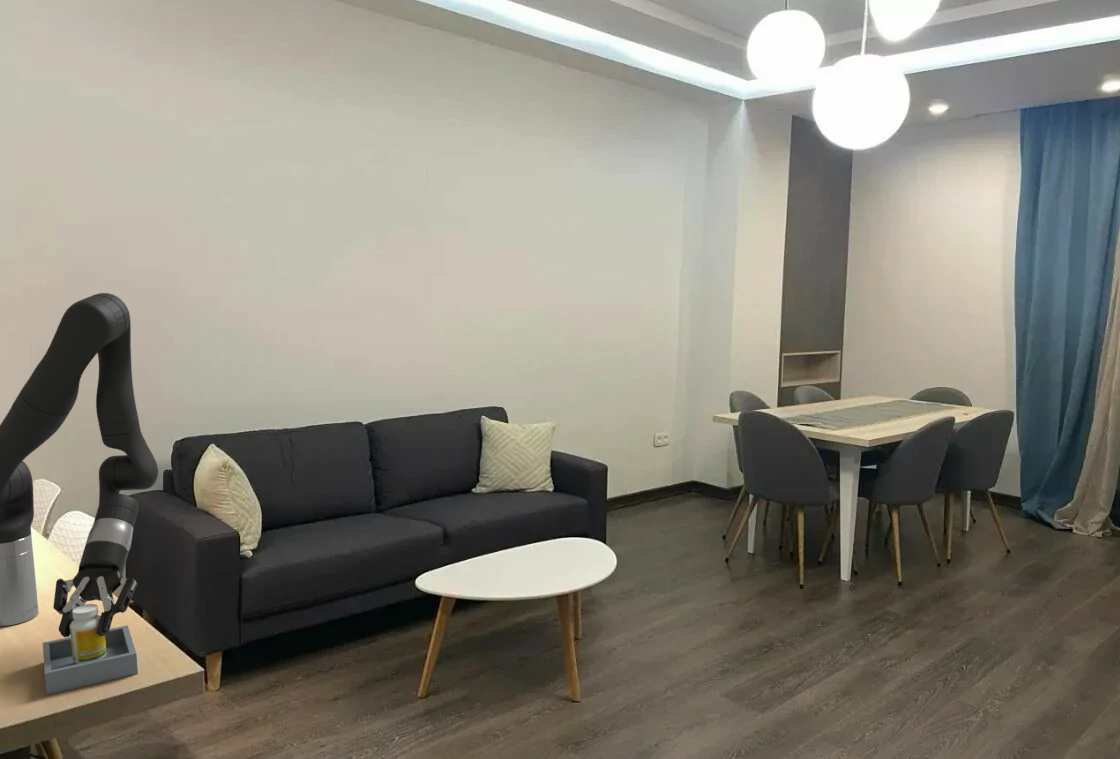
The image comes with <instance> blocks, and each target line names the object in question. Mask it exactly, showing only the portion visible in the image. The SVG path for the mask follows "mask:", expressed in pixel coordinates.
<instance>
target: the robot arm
mask: <svg viewBox="0 0 1120 759" xmlns="http://www.w3.org/2000/svg"><path fill="white" fill-rule="evenodd" d="M131 333H132V332H131V315H130V311H129V308H128V306H127V305H126V303H125V302H124V301H123V300H122V299H121V298H120V297H118V296H117V295H115V294H112V293H109V292H99V293H97V294H93V295H90V296H88V297H86V298H83V299H79V300H78V301H75V302H74V303H72V304H71V305H70V306H69V307H68V308H67V309H65V312H64V313H63V315H62V318H61V319H60V322H59V324H58V326H57V327H56V331H55V333H54V336H53V337H52V339H51V342H50V344H49V347H48V348H47V350H46V352H45V354H44V355H43V357H42V359H41V360H40V361H39V363H38V364H37V365H36V367H35V368H34V370H33V371H32V373H31V375H30V376H29V378H28V379H27V381H26V382H25V383H24V385H23V386H22V388H21V389H20V391H19V393H18V395H17V397H16V398H15V399H14V401H13V403H12V405H11V407H10V409H9V410H8V412H7V413H6V415H5V417H4V418H3V420H2V422H0V627H7V626H12V625H17V624H21V623H24V622H27V621H30V620H31V619H34V618H35V617H37V615H39V602H38V591H37V579H36V573H35V572H36V571H35V559H34V557H35V556H34V548H33V538H32V525H33V521H34V519H35V518H34V517H35V511H34V510H35V507H34V504H35V503H34V502H35V501H34V483H33V477H32V473H31V470H30V468H29V467H28V465H27V463H26V462H25V461H24V460H25V459H26V458H27V457H28V456H29V455H31V454H32V453H34V451H36V450H37V449H38V448H39V447H40V446H42V445H43V444H44V443H45V442H47V441H48V440H49V439H50V438H52V436H53V435H54V434H55V433H56V432H58V430H59V429H60V427H62V425H63V424H64V422H65V420H66V419H67V418H68V416H69V414H70V413H71V411H72V409H73V408H74V406H75V404H76V401H77V398H78V394H79V390H80V389H79V388H80V383H81V378H82V375H83V374H84V372H85V370H86V368H87V367H88V365H89V364H90V363H91V362H92V360H93V359H94V358H95V357H96V355H97V357H98V378H97V379H98V380H97V388H96V396H95V397H96V398H95V409H96V417H97V423H98V428H99V430H100V431H99V432H100V437H101V440H102V444H103V445H104V446H105V447H107V448H110V449H113V450H119V451H121V452H123V453H125V454H123V455H112V456H108V457H107V458H105V459H104V460H103V461H102V462H101V465H100V466H99V469H98V483H99V484H98V485H99V486H98V487H99V491H98V492H99V494H98V496H99V498H98V507H97V510H96V514H95V517H94V520H93V524H92V526H91V528H90V531H89V532H88V535H87V539H86V541H85V546H84V549H83V551H82V555H81V559H80V562H79V565H78V570H77V573H76V575H75V576H74V577H73V578H72V579H67V580H65V579H63V578H59V579H57V580H56V581H55V582H56V583H55V588H54V589H55V590H54V599H53V606H52V608H53V609H54V610H55V611H56V612H57V613H58V614H59V615H61V619H60V623H59V626H58V632H59V633H60V635H61V636H62V637H63V638H68V637H70V624H71V622H72V621H73V620H74V619H73V614H72V611H73V609H75V608H76V607H79V606H82V605H86V603H87V602H92V601H99V602H100V601H101V603H102V608H103V612H101V614H100V616H101V617H100V620H99V624H98V628H97V634H98V635H99V636H105V634H106V633H108V632H109V630H110V629H111V626H112V623H113V619H114V616H115V615H116V614H118V613H121V614H123V613H125V612H127V610H128V607H129V605H130V603H131V601H132V598H133V596H134V594H135V592H136V590H137V587H138V582H137V581H136V580H135V578H133V576H128V577H127V578H126V577H123V574H124V571H125V566H126V564H127V563H126V562H127V559H128V556H129V552H130V549H131V546H132V540H133V533H134V527H135V523H136V520H137V517H138V513H139V508H140V506H139V503H138V501H137V499H135V498H134V497H132V496H130V495H127V494H123V493H120V492H121V491H137V490H138V491H139V490H140V491H141V490H142V491H143V490H147V489H150V488H152V487H153V486H154V485H155V484H156V482H157V480H158V477H159V468H158V463H157V461H156V459H155V456H154V454H153V452H152V451H151V449H150V448H149V446H148V444H147V442H146V440H145V437H144V436H143V433H142V431H141V427H140V418H139V414H138V410H137V404H136V400H135V399H136V398H135V393H134V392H135V391H134V384H133V372H132V371H133V370H132V369H133V368H132V345H131V343H132V342H131V341H132V340H131V337H132V336H131ZM73 587H74V588H75V590H74V591H73V592H72V593H71V595H70V597H69V593H70V592H71V591H72V588H73ZM118 588H121V591H120V592H119V595H118V597H117V599H116V601H115V599H114V598H115V597H114V594H113V593H115V591H116V590H118ZM68 597H69V600H68Z"/></svg>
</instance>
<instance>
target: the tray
mask: <svg viewBox="0 0 1120 759" xmlns="http://www.w3.org/2000/svg"><path fill="white" fill-rule="evenodd" d="M105 641H106V651H107V654H106V656H105V657H104V658H103V659H99V660H94V661H90V662H85V663H81V664H76V663H74V661H73V655H72V646H71V637H70V636H69V637H63V638H60V639H54V640H49V641H44V642H42V654H43V667H44V668H43V669H44V678H45V689H46V690H45V692H46V695H47V696H48V695H53V694H58V693H62V692H66V691H69V690H73V689H78V688H82V687H87V686H91V685H96V684H100V683H105V682H108V681H112V680H118V679H121V678H125V677H130V676H134V675H138V674H139V671H138V670H139V668H138V658H137V657H138V656H137V652H136V651H137V650H136V648H135V645H134V641H133V638H132V634H131V632H130V628H129V625H128V624H127V625H123V626H122V625H121V626H116V627H112V628H110V630H109V632H108V633H106V634H105Z"/></svg>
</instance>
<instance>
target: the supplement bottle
mask: <svg viewBox="0 0 1120 759" xmlns="http://www.w3.org/2000/svg"><path fill="white" fill-rule="evenodd" d="M72 614H73V619H74V620H73V621H72V622H71V624H70V636H69V637H71V646H72V655H73V661H74V663H76V664H81V663H85V662H90V661H94V660H99V659H103V658H104V657H105V656H106V654H107V651H106V641H105V636H99V635H98V634H97V628H98V624H99V620H100V617H101V615H99V607H98V604H94V603H88V604H86V603H85V605H82V606H79V607H76V608H75V609H73V611H72Z"/></svg>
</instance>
